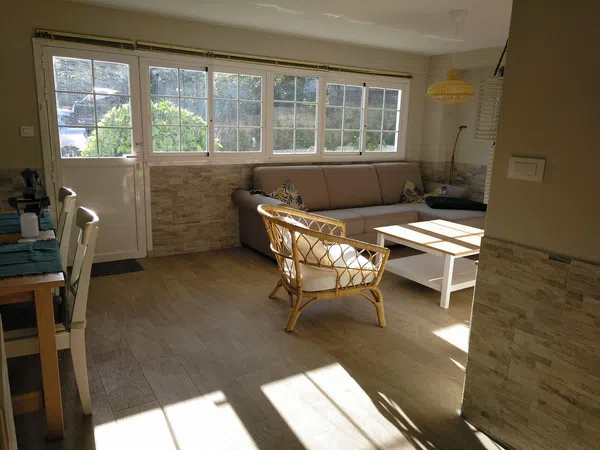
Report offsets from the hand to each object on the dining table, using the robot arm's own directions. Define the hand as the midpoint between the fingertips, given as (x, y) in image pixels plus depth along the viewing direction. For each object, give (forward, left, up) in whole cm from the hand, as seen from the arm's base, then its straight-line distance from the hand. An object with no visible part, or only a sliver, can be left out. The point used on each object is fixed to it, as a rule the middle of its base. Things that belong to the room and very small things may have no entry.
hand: (29, 214), depth 232 cm
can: (+2, 0, -11) cm, 11 cm away
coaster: (+12, 0, -11) cm, 16 cm away
